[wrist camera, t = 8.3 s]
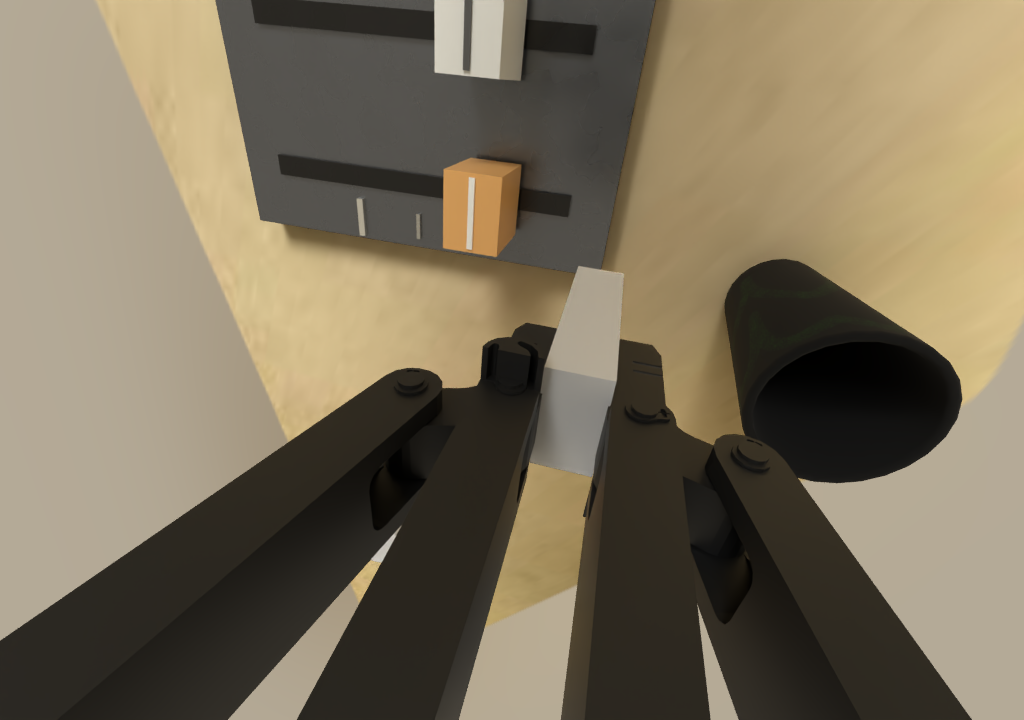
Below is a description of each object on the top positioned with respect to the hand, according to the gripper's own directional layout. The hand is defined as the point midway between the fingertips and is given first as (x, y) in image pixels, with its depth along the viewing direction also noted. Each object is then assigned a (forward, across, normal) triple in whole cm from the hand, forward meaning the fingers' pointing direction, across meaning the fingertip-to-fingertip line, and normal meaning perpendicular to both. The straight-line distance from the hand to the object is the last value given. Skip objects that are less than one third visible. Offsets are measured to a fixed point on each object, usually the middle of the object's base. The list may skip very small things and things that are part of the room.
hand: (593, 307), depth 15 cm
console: (+15, -12, +4) cm, 20 cm away
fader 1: (+13, -7, +8) cm, 17 cm away
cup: (+16, +11, -4) cm, 19 cm away
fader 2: (+13, -7, 0) cm, 14 cm away
